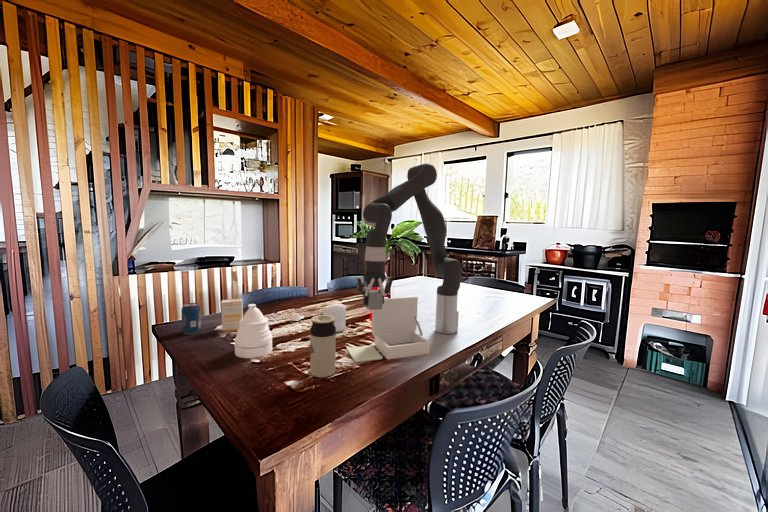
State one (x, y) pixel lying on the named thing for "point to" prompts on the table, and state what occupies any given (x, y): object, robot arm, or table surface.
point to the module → (375, 300)
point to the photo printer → (337, 315)
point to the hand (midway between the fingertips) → (373, 305)
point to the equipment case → (398, 329)
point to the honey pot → (253, 335)
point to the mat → (364, 353)
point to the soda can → (191, 318)
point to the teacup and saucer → (297, 317)
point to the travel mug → (322, 346)
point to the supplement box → (231, 314)
